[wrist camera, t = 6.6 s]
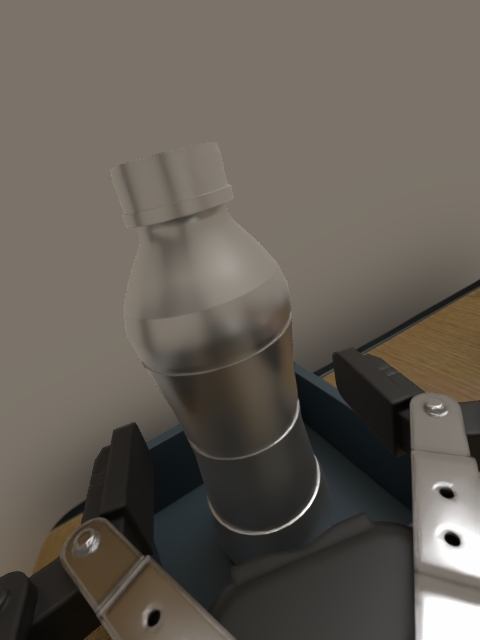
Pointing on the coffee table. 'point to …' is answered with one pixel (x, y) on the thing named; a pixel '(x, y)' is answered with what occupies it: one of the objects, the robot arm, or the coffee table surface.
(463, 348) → the coffee table surface
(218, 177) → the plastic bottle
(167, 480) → the bin
